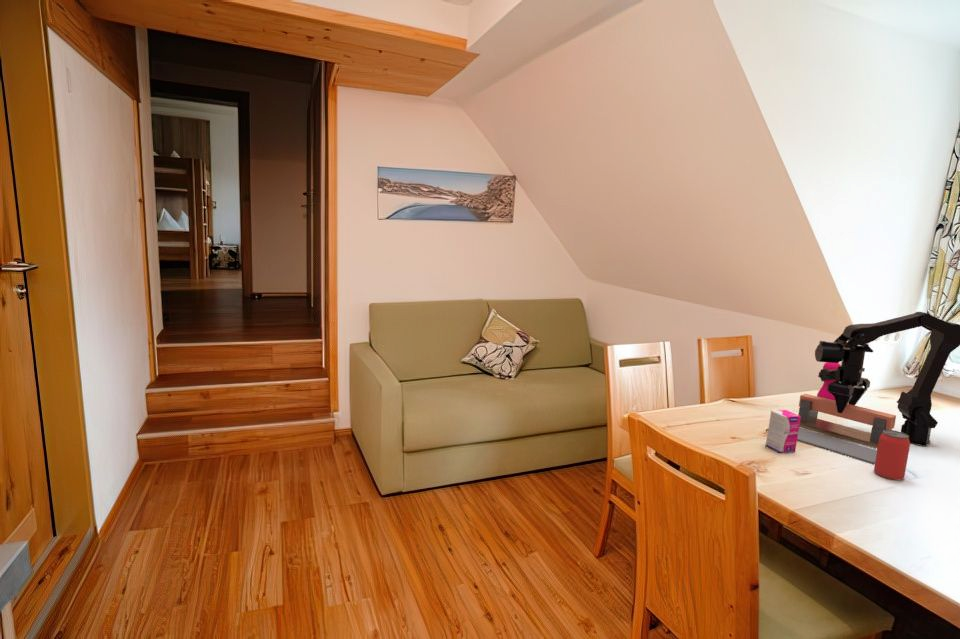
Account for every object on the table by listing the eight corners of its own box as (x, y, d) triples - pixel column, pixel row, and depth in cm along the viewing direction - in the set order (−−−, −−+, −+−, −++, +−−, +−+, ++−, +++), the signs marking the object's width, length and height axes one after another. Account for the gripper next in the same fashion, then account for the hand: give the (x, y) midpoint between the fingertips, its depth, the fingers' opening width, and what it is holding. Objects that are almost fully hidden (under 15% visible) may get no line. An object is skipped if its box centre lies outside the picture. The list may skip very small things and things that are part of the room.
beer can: (874, 467, 148) (881, 427, 146) (904, 475, 144) (911, 433, 142) (872, 475, 143) (879, 433, 141) (903, 483, 138) (911, 440, 137)
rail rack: (898, 445, 166) (902, 417, 164) (887, 451, 160) (892, 423, 158) (802, 418, 188) (805, 394, 186) (789, 423, 182) (792, 398, 180)
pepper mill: (841, 412, 196) (849, 360, 193) (819, 411, 197) (827, 359, 194) (832, 407, 203) (840, 356, 200) (812, 405, 204) (819, 354, 201)
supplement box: (780, 453, 155) (785, 416, 153) (764, 446, 161) (769, 410, 159) (796, 452, 157) (801, 415, 155) (780, 444, 162) (785, 409, 160)
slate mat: (887, 455, 157) (888, 453, 157) (873, 464, 150) (873, 462, 150) (782, 424, 181) (782, 422, 181) (765, 431, 174) (765, 429, 174)
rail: (894, 427, 164) (896, 415, 163) (889, 430, 161) (891, 417, 161) (803, 404, 184) (805, 393, 184) (798, 406, 182) (800, 395, 181)
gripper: (835, 356, 182) (829, 399, 184) (812, 362, 171) (806, 408, 173) (873, 362, 173) (866, 408, 175) (852, 369, 162) (844, 418, 164)
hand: (845, 410), depth 172 cm, fingers open, 9 cm apart
